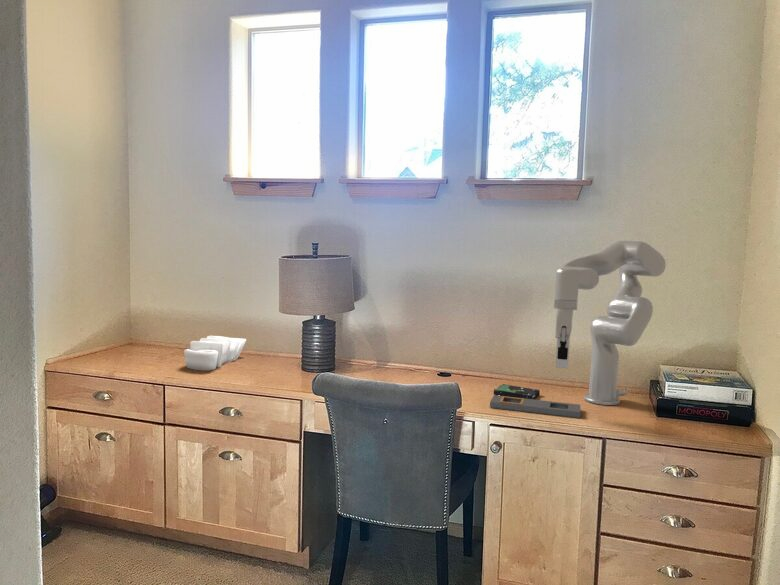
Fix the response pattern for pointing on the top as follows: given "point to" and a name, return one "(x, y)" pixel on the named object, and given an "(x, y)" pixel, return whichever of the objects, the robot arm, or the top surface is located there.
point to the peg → (560, 362)
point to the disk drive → (516, 392)
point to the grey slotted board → (536, 406)
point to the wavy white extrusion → (212, 352)
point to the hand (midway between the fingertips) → (562, 357)
